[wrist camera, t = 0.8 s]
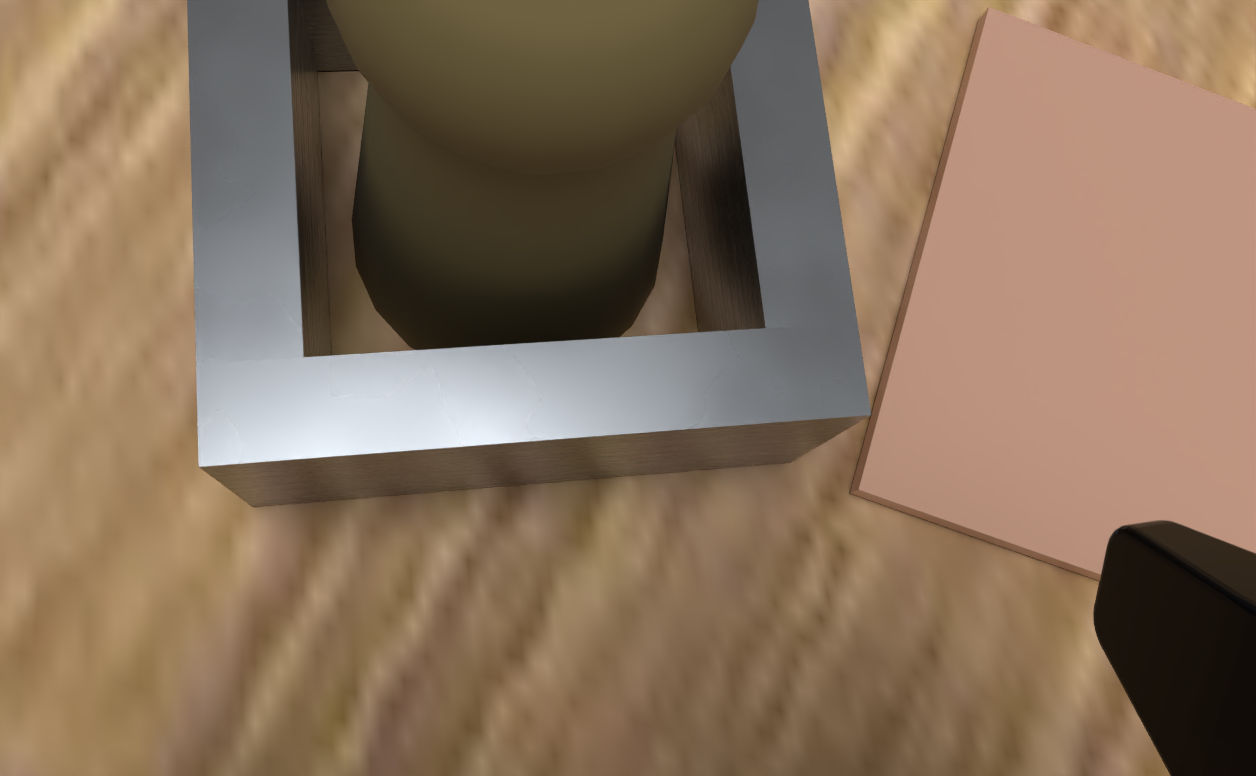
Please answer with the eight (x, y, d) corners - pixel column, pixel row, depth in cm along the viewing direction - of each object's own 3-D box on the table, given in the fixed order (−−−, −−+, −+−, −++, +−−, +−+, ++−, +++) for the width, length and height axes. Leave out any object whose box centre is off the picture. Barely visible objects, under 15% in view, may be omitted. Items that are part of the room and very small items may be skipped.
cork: (660, 389, 22) (846, 144, 12) (339, 372, 21) (223, 92, 11) (664, 102, 24) (833, -351, 13) (363, 76, 23) (281, -430, 12)
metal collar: (790, 462, 22) (871, 415, 18) (253, 507, 21) (198, 466, 16) (727, -4, 24) (785, -148, 20) (235, 3, 23) (183, -151, 18)
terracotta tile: (1362, 673, 23) (1382, 674, 22) (849, 493, 22) (858, 489, 22) (1431, 192, 26) (1449, 183, 25) (979, 19, 25) (988, 7, 25)
